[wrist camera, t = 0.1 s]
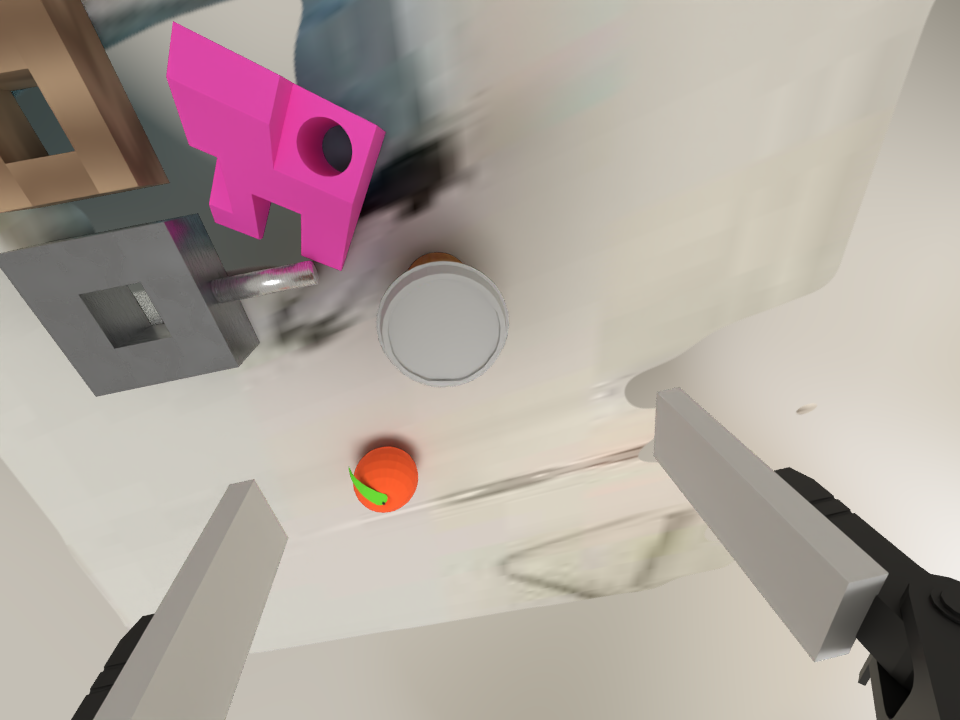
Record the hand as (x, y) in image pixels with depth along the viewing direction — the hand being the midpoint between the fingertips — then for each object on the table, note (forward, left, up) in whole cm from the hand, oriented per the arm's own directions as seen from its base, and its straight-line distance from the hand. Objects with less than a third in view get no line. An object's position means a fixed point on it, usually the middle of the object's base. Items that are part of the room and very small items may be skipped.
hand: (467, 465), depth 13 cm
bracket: (-9, -9, -28) cm, 31 cm away
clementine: (+20, -11, -28) cm, 36 cm away
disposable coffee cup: (+2, 0, -28) cm, 28 cm away
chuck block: (-2, -24, -28) cm, 37 cm away
